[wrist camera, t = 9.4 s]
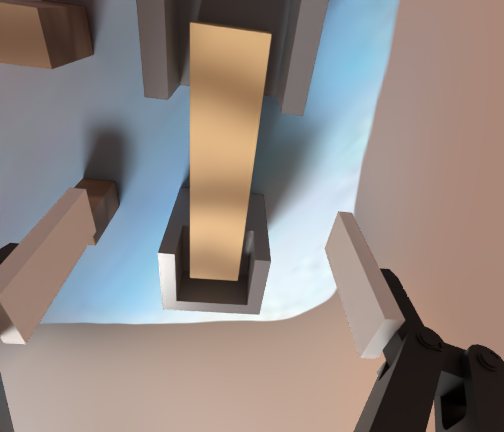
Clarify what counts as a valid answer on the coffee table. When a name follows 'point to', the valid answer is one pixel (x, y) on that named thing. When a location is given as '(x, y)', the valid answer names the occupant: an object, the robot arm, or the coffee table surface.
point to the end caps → (276, 84)
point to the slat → (223, 140)
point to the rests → (52, 56)
